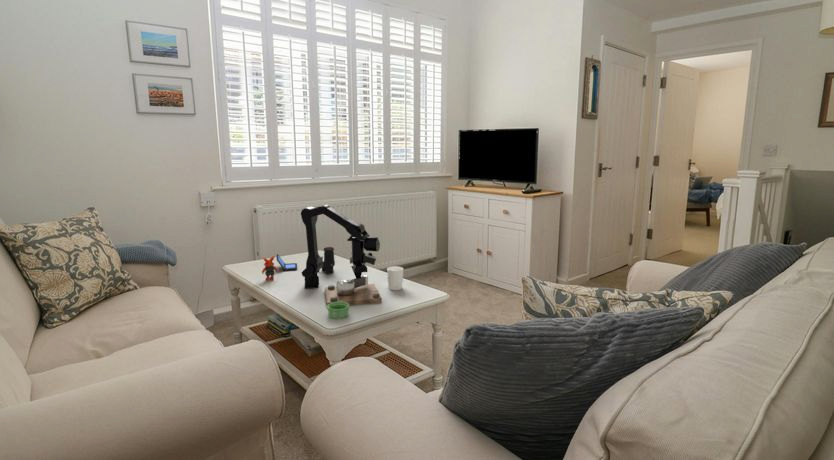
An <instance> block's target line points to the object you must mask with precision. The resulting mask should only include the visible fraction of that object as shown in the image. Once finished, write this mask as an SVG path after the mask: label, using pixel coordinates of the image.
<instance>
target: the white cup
mask: <svg viewBox="0 0 834 460" xmlns="http://www.w3.org/2000/svg"><path fill="white" fill-rule="evenodd" d="M386 269H387V270H386V271H387V274H386V275H387V284H388V285H387V286H388V289H389V290H391V291H400V290H402V288H403V281H404V267H402V266H396V265H395V266H394V265H393V266H388V267H387V268H386Z"/></svg>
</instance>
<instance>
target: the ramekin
mask: <svg viewBox="0 0 834 460" xmlns="http://www.w3.org/2000/svg"><path fill="white" fill-rule="evenodd" d="M326 306H327V305H326ZM349 308H350V305H349V304H348V303H346V302H333V303H330V304H328V306H327V311H328V312H327V313H328V317H330V318H331V319H334V320H335V319H344V318H347V317H348V315H349Z"/></svg>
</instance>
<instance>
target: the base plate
mask: <svg viewBox="0 0 834 460" xmlns="http://www.w3.org/2000/svg"><path fill="white" fill-rule="evenodd" d="M324 294H325V295H324V296H325V300H326V306H328V304H330V303H333V302H346V303H348V304H349V306H356V305H357V306H358V305H368V304H370V305H371V304H381V303H382V301H383V300H382V297H381V294H380V292H379V290H378V288H377V287H376V285H375V283H368V284H367V285H363V286H360V287H357V288H354V294H352V295H346V296H343V295H338V294H337V286H335V285H333V284H332V285H331V284H330V285H328V286H325V287H324Z"/></svg>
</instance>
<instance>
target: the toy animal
mask: <svg viewBox="0 0 834 460" xmlns="http://www.w3.org/2000/svg"><path fill="white" fill-rule="evenodd" d="M262 259H263V261H264V263H263V265H264V267H263V269H262V271H261V273H262V275H264V274H265V275H264V276H266V277H265V281H268V282H269V281H274V279H275V278H274V275H275V272H278V268H277V267H276V266H274V265H275V263H274V262H273V260H275V256H272V257H270V258H269V259H267V258H265V257H263V258H262Z"/></svg>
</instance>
